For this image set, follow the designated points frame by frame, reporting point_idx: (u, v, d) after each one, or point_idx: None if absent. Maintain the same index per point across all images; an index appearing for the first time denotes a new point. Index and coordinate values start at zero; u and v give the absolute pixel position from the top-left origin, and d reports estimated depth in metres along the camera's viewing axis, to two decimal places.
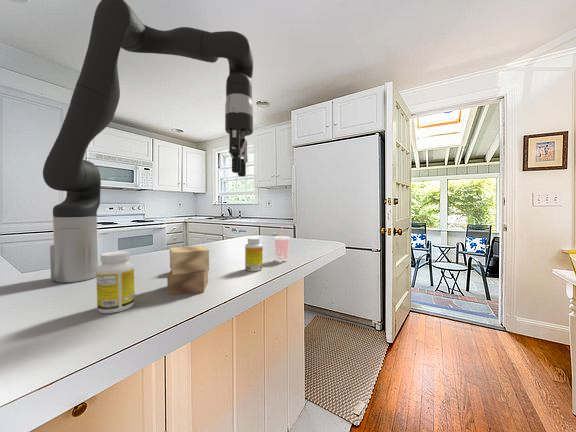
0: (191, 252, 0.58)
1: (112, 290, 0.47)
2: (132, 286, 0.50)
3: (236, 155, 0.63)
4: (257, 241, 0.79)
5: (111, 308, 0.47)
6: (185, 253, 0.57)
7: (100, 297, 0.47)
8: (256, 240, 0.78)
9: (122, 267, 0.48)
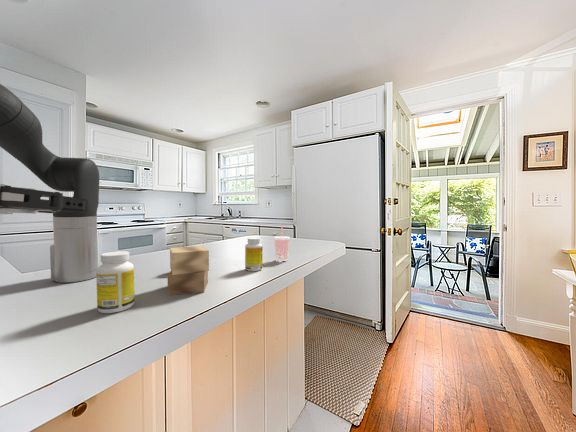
0: (191, 252, 0.58)
1: (112, 290, 0.47)
2: (132, 286, 0.50)
3: None
4: (257, 241, 0.79)
5: (111, 308, 0.47)
6: (185, 253, 0.57)
7: (100, 297, 0.47)
8: (256, 240, 0.78)
9: (122, 267, 0.48)
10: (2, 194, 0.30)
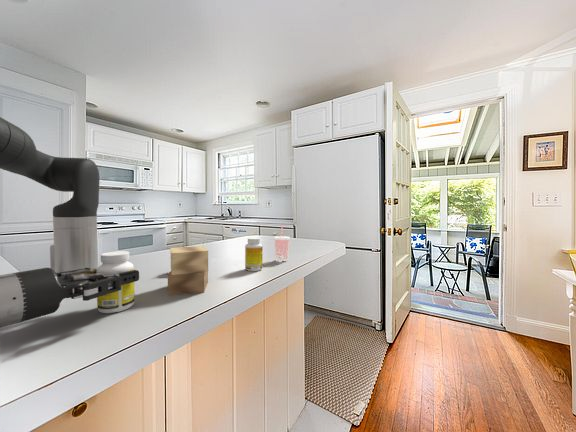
0: (190, 252, 0.58)
1: None
2: (132, 286, 0.50)
3: None
4: (257, 241, 0.79)
5: (111, 307, 0.47)
6: (184, 253, 0.57)
7: (100, 297, 0.47)
8: (256, 240, 0.78)
9: (122, 267, 0.48)
10: (85, 291, 0.40)
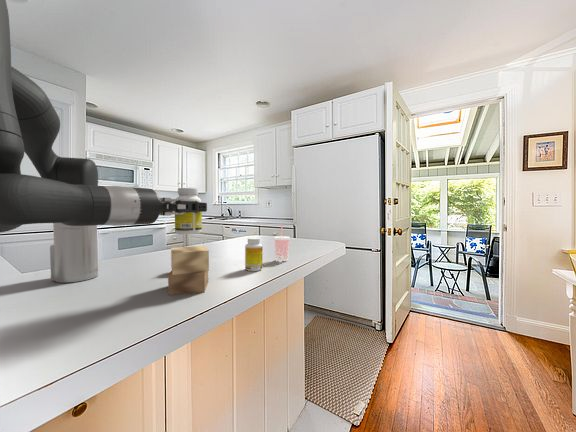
0: (191, 252, 0.58)
1: (188, 215, 0.58)
2: (201, 216, 0.61)
3: None
4: (257, 241, 0.79)
5: (187, 229, 0.58)
6: (185, 253, 0.58)
7: (179, 221, 0.58)
8: (256, 240, 0.78)
9: (195, 198, 0.59)
10: (178, 205, 0.51)
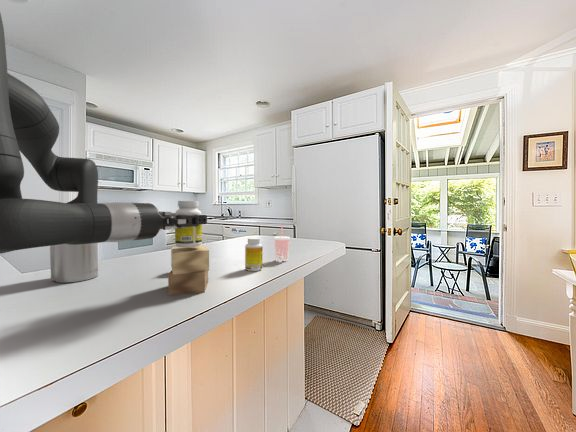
0: (191, 252, 0.58)
1: (188, 228, 0.58)
2: (201, 228, 0.62)
3: None
4: (257, 241, 0.79)
5: (188, 242, 0.59)
6: (185, 253, 0.58)
7: (179, 234, 0.58)
8: (256, 240, 0.78)
9: (196, 211, 0.60)
10: (179, 220, 0.51)
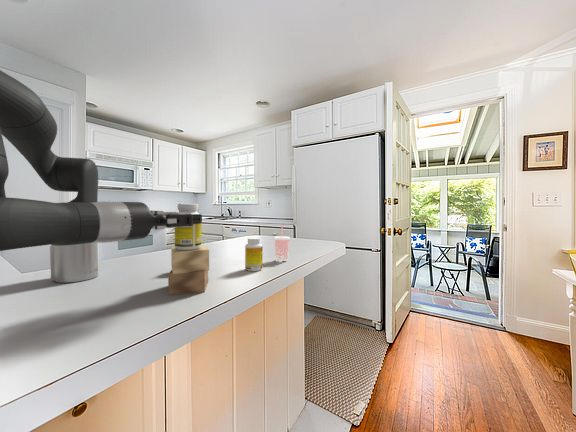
0: (191, 252, 0.58)
1: (188, 231, 0.59)
2: None
3: None
4: (257, 241, 0.79)
5: (187, 245, 0.59)
6: (185, 252, 0.58)
7: (179, 237, 0.59)
8: (256, 240, 0.78)
9: None
10: (168, 220, 0.49)
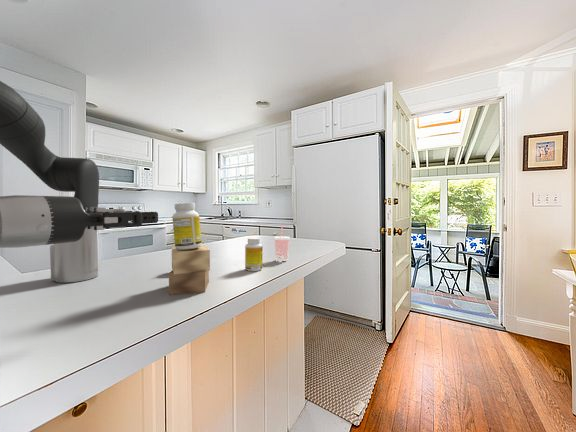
0: (192, 252, 0.58)
1: (188, 230, 0.59)
2: None
3: None
4: (257, 241, 0.79)
5: (188, 244, 0.59)
6: (186, 253, 0.58)
7: (179, 236, 0.59)
8: (256, 240, 0.78)
9: (193, 213, 0.60)
10: (104, 219, 0.40)
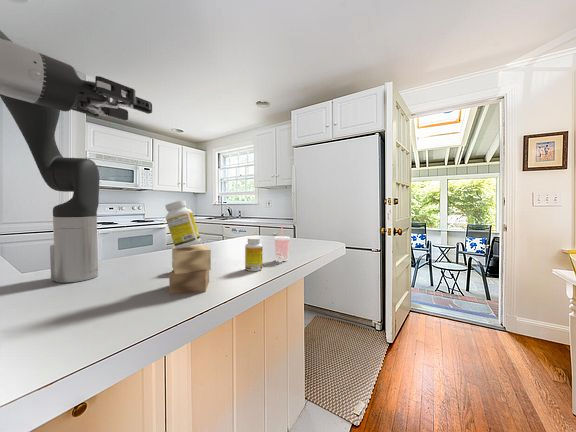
0: (193, 252, 0.59)
1: (187, 226, 0.59)
2: None
3: None
4: (257, 241, 0.79)
5: (191, 240, 0.59)
6: (187, 253, 0.58)
7: (179, 234, 0.59)
8: (256, 240, 0.78)
9: (187, 209, 0.61)
10: (97, 82, 0.40)
